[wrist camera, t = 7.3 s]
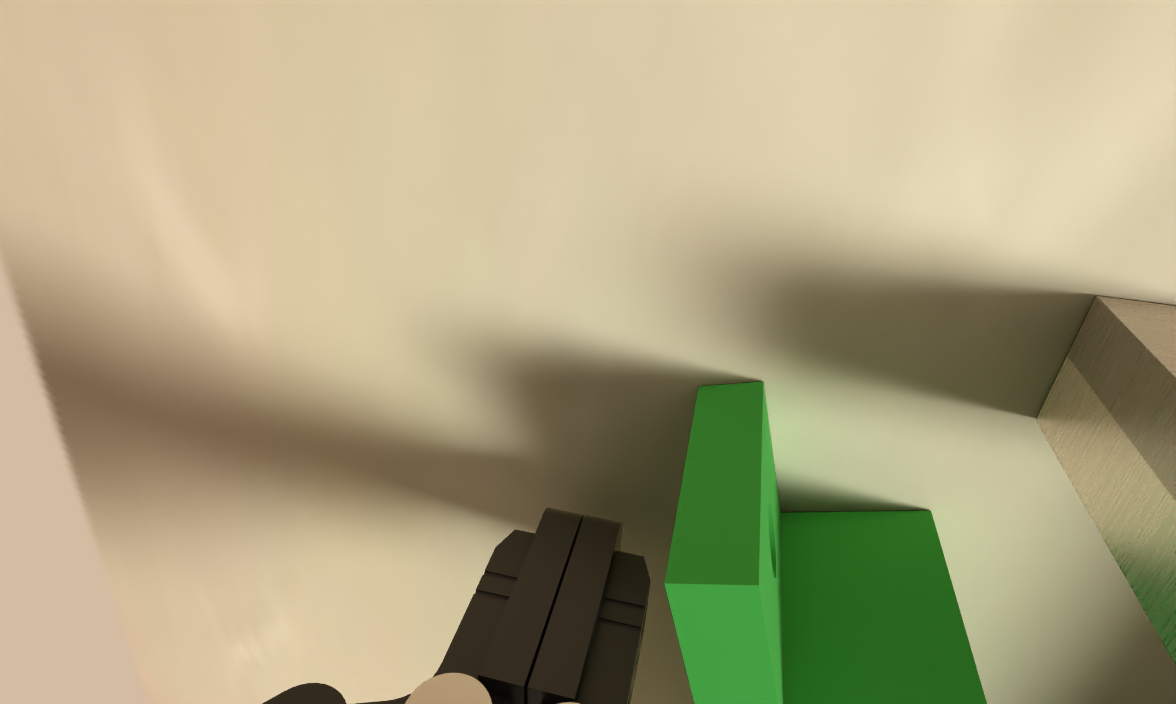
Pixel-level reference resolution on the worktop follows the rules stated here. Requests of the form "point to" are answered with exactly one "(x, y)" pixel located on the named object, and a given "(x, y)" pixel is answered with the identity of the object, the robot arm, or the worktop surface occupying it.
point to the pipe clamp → (803, 583)
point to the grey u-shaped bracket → (1124, 442)
